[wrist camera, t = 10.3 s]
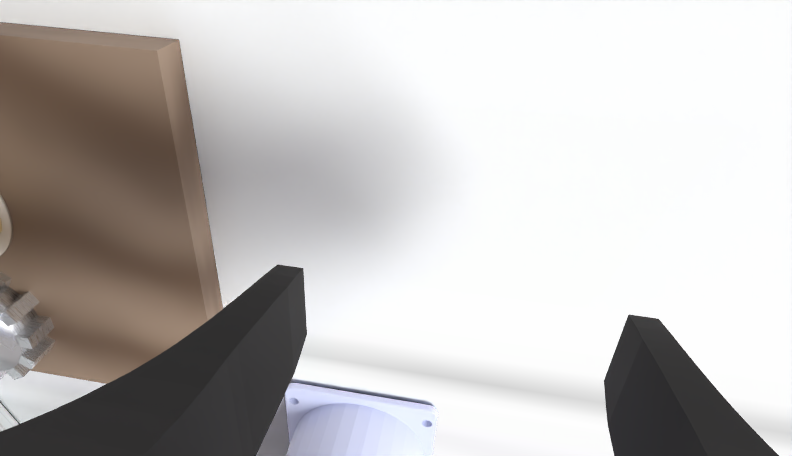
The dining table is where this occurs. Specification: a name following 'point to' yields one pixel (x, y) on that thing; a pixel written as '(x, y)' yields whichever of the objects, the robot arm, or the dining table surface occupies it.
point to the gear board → (102, 196)
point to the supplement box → (6, 419)
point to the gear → (21, 331)
